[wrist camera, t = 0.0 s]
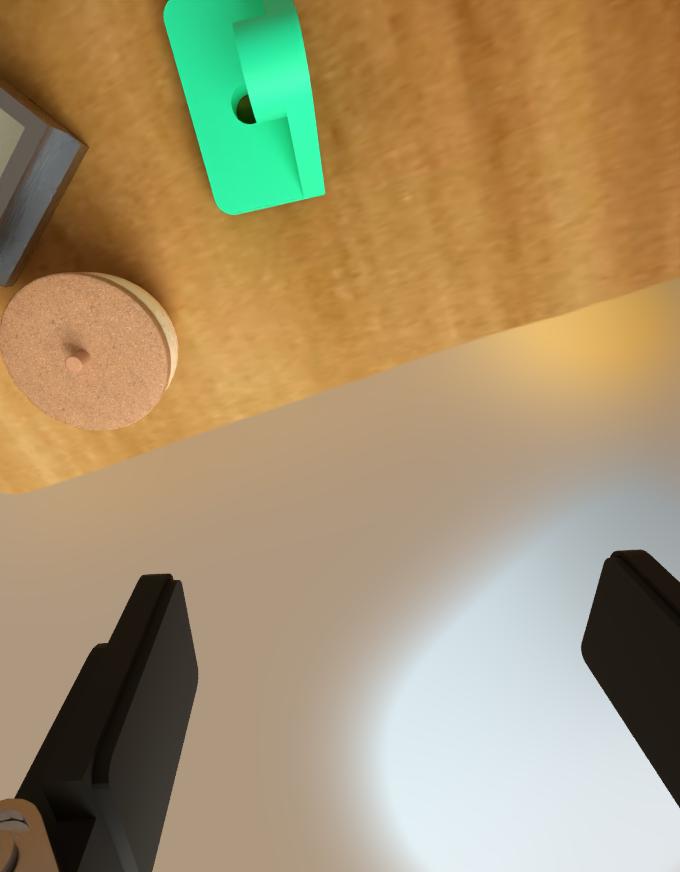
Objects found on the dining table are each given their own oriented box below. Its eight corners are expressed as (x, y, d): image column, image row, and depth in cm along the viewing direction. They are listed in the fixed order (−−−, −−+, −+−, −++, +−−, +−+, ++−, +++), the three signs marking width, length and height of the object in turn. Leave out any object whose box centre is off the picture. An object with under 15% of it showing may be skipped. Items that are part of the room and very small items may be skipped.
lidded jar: (152, 243, 35) (102, 246, 27) (215, 370, 39) (190, 408, 31) (28, 294, 36) (-59, 314, 27) (104, 413, 40) (49, 462, 32)
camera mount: (170, 19, 30) (107, -79, 21) (283, -8, 30) (272, -120, 20) (225, 218, 35) (195, 212, 25) (323, 195, 35) (329, 181, 25)
